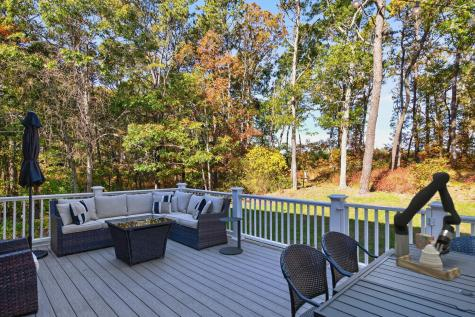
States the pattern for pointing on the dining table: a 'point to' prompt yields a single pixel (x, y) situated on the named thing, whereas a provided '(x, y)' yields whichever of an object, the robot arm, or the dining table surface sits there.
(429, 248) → the honey pot
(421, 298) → the dining table surface
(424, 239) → the stack of blocks
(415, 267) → the oak bay
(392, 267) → the dining table surface
